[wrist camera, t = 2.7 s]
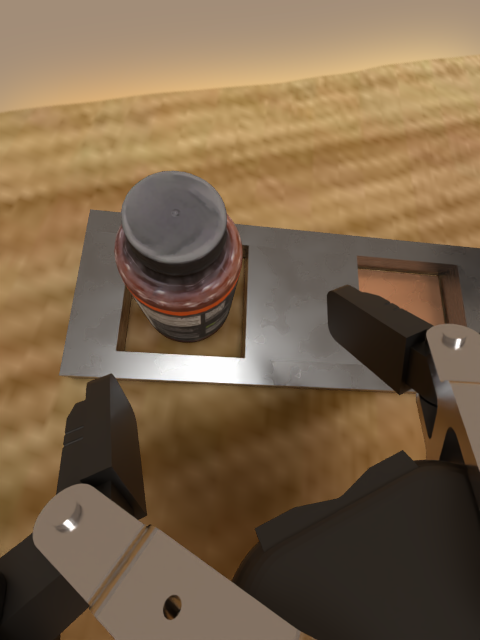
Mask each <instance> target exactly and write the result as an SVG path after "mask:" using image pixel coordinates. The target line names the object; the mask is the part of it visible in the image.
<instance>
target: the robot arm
mask: <svg viewBox="0 0 480 640" xmlns="http://www.w3.org/2000/svg"><path fill="white" fill-rule="evenodd" d="M327 315H328V328H329V332H330V334H331V336H332V337H333V339H334V340H335V341H336V342H337V343H339V344H340V345H341V346H342V347H343V348H344V349H346V350H347V351H348V352H349V353H350V354H352V355H353V356H354V357H355V358H356V359H357V360H359V361H360V362H361V363H362V364H363V365H365V366H366V367H367V368H368V369H369V370H370V371H372V372H373V373H374V374H375V375H376V376H378V377H379V378H380V379H381V380H382V381H383V382H385V383H386V384H387V385H388V386H389V387H390V388H392V389H393V390H394V391H395V392H396V393H398V394H399V395H401V394H403V393H405V392H407V391H409V390H411V389H413V390H414V391H416V392H417V394H416V403H417V408H418V413H419V418H420V422H421V427H422V432H423V437H424V442H425V447H426V460H416V461H413V460H412V459H411V458H410V457H409V456H408V455H407V454H406V453H405V452H404V451H403V450H402V451H400V452H399V453H397V454H395V455H393V456H391V457H389V458H387V459H385V460H383V461H381V462H380V463H378V464H376V465H374V466H372V467H370V468H369V469H368V470H367V471H366V472H365V473H364V474H363V475H362V476H361V477H360V478H359V479H358V480H357V481H356V482H355V483H354V484H353V485H352V486H351V487H350V488H349V489H348V490H347V491H346V492H345V494H344V495H342V496H341V497H339V498H337V499H333V500H328V501H323V502H319V503H314V504H309V505H304V506H300V507H295V508H293V509H291V510H289V511H287V512H285V513H283V514H281V515H279V516H277V517H276V518H274V519H272V520H270V521H268V522H266V523H264V524H262V525H260V526H259V527H257V528H255V531H256V533H257V536H258V539H259V542H258V543H257V544H256V545H255V546H254V547H253V548H252V549H251V550H250V552H249V553H248V554H247V556H246V557H245V558H244V560H243V561H242V563H241V564H240V566H239V568H238V569H237V571H236V573H235V575H234V577H233V579H232V582H231V581H230V580H228V579H227V578H226V577H224V576H223V575H221V574H220V573H219V572H217V571H216V570H215V569H213V568H212V567H210V566H209V565H208V564H206V563H205V562H204V561H202V560H201V559H199V558H198V557H197V556H195V555H194V554H192V553H191V552H190V551H188V550H187V549H186V548H184V547H183V546H181V545H180V544H179V543H177V542H176V541H175V540H173V539H172V538H170V537H169V536H168V535H166V534H165V533H164V532H162V531H161V530H159V529H158V528H156V527H154V526H152V525H149V526H146V525H144V524H142V523H141V522H140V521H138V520H139V519H141V518H143V517H145V516H147V511H146V502H145V493H144V484H143V476H142V467H141V458H140V449H139V440H138V432H137V423H136V418H135V415H134V412H133V409H132V407H131V405H130V403H129V401H128V399H127V398H126V396H125V394H124V392H123V390H122V389H121V387H120V385H119V383H118V382H117V380H116V378H115V376H114V375H113V374H112V373H111V374H108V375H105V376H103V377H100V378H97V379H95V380H92V381H90V382H88V383H87V388H86V400H84V401H82V402H79V403H76V404H75V406H74V407H73V409H72V411H71V412H70V414H69V416H68V418H67V421H66V428H65V434H66V435H65V436H64V443H63V445H64V447H63V450H62V457H61V464H60V471H59V478H58V486H57V493H56V496H54V497H53V498H52V499H51V500H50V501H49V502H48V503H47V504H46V506H45V507H44V508H43V510H42V511H41V513H40V514H39V516H38V518H37V520H36V522H35V525H34V529H33V533H32V534H31V535H29V536H28V537H27V538H26V539H25V540H23V541H22V542H21V543H19V544H18V545H17V546H15V547H14V548H13V549H11V550H10V551H9V552H7V553H6V554H5V555H4V556H2V557H1V558H0V640H60V633H62V632H63V631H64V630H65V629H66V628H67V627H68V626H69V625H70V624H71V623H72V622H73V621H74V620H75V619H76V618H78V617H79V616H80V615H81V614H82V613H83V612H84V611H85V610H86V609H87V608H88V607H89V606H90V607H89V609H90V611H91V612H92V614H93V615H94V616H95V617H96V618H97V620H98V621H99V622H100V623H101V624H102V625H103V626H104V627H105V629H106V630H107V631H108V632H109V633H110V634H111V635H112V636H113V637H114V639H115V640H480V333H477V332H476V331H474V330H472V329H470V328H468V327H465V326H462V325H457V324H440V325H436V326H433V325H432V324H430V323H428V322H426V321H424V320H422V319H421V318H419V317H417V316H415V315H413V314H412V313H410V312H408V311H406V310H404V309H402V308H401V309H400V308H399V306H397V305H395V304H393V303H390V301H388V300H386V299H384V298H382V297H381V296H379V295H375V294H371V293H367V292H361V291H359V290H358V289H356V288H354V287H352V286H351V285H344V286H342V287H339V288H337V289H334V290H331V291H329V292H328V293H327Z"/></svg>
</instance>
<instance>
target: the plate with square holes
mask: <svg viewBox="0 0 480 640" xmlns="http://www.w3.org/2000/svg"><path fill="white" fill-rule="evenodd" d="M121 224H122V222H121V213H120V212H110V211H100V210H90V214H89V219H88V224H87V230H86V235H85V240H84V246H83V251H82V256H81V262H80V267H79V272H78V277H77V283H76V288H75V293H74V299H73V304H72V309H71V315H70V320H69V325H68V331H67V336H66V341H65V347H64V352H63V357H62V363H61V368H60V373H59V375H61V376H65V377H70V378H84V379H97V378H100V377H103V376H105V375H108V374H111V373H112V374H113V375H114V376H115V378H116V380H128V381H150V382H172V383H194V384H216V385H238V386H260V387H282V388H304V389H326V390H348V391H370V392H392V393H396V392H395V391H394V390H393V389H392V388H390V387H389V386H388V385H387V384H386V383H385V382H383V381H382V380H381V379H380V378H379V377H378V376H376V375H375V374H374V373H373V372H372V371H370V370H369V369H368V368H367V367H366V366H365V365H363V364H362V363H361V362H360V361H359V360H357V359H356V358H355V357H354V356H353V355H352V354H350V353H349V352H348V351H347V350H346V349H344V348H343V347H342V346H341V345H340V344H339V343H337V342H336V341H335V340H334V339H333V337H332V336H331V334H330V332H329V328H328V315H327V293H328V292H329V291H331V290H334V289H337V288H339V287H342V286H344V285H351V286H352V287H354V288H356V289H358V290H359V291H361V292H367V293H371V294H375V295H379V296H381V297H382V298H384V299H386V300H388V301H390V303H393V304H395V305H397V306H399V308H400V309H401V308H402V309H404V310H406V311H408V312H410V313H412V314H413V315H415V316H417V317H419V318H421V319H422V320H424V321H426V322H428V323H430V324H432V325H433V326H436V325H440V324H457V325H462V326H465V327H468V328H470V329H472V330H474V331H476V332H477V333H480V248H470V247H460V246H450V245H440V244H430V243H420V242H410V241H400V240H390V239H380V238H370V237H360V236H350V235H340V234H330V233H320V232H310V231H300V230H290V229H280V228H270V227H260V226H250V225H240V224H235V226H236V227H237V229H238V232H239V235H240V238H241V242H242V252H243V253H242V258H245V274H244V302H243V329H242V357H241V358H231V357H212V356H194V355H176V354H158V353H140V352H124V348H125V341H126V334H127V326H128V319H129V312H130V304H131V297H132V294H131V293H130V291H129V290H128V288H127V286H126V285H125V283H124V281H123V280H122V278H121V276H120V274H119V271H118V268H117V264H116V260H115V253H114V249H115V239H116V235H117V232H118V230H119V227H120V226H121ZM358 268H362V269H373V270H384V271H396V272H407V273H418V274H430V275H438V276H428V275H417V274H405V273H394V272H383V271H371V270H360V269H358ZM438 278H439V280H438ZM439 285H440V288H439ZM440 292H441V295H440ZM441 299H442V302H441ZM442 307H443V309H442ZM443 314H444V316H443ZM444 321H445V323H444ZM405 393H414V394H417V392H416V391H414V390H413V389H411V390H409V391H407V392H405Z"/></svg>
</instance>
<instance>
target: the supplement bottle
mask: <svg viewBox="0 0 480 640" xmlns="http://www.w3.org/2000/svg"><path fill="white" fill-rule="evenodd" d="M121 222H122V224H121V226H120V227H119V230H118V232H117V235H116V239H115V249H114V253H115V260H116V264H117V268H118V271H119V274H120V276H121V278H122V280H123V281H124V283H125V285H126V286H127V288H128V290H129V291H130V293H131V294H132V296H133V297H134V299H135V300H136V302H137V303H138V305H139V306H140V307H141V309H142V311H143V312H144V314H145V315H146V317H147V318H148V319H149V321H150V322H151V324H152V325H153V326H154V327H155V328H156V329H157V330H158V331H159V332H160V333H161V334H163V335H164V336H166V337H168V338H170V339H172V340H175V341H180V342H195V341H200V340H202V339H205V338H207V337H209V336H211V335H212V334H214V333H215V332H216V331H217V330H218V329H219V328H220V327H221V326H222V324H223V323H224V321H225V320H226V318H227V315H228V313H229V310H230V307H231V303H232V300H233V296H234V292H235V289H236V285H237V282H238V278H239V274H240V270H241V266H242V253H243V252H242V242H241V238H240V235H239V232H238V229H237V227H236V226H235V224H234V222H233V221H232V219H231V218H230V217H229V215H228V214H227V213H226V209H225V205H224V202H223V200H222V198H221V197H220V195H219V193H218V192H217V191H216V190H215V188H214V187H212V186H211V185H210V184H209V183H208V182H206V181H205V180H203V179H201V178H200V177H197V176H195V175H192V174H189V173H186V172H179V171H163V172H159V173H155V174H152V175H150V176H147V177H146V178H144V179H142V180H141V181H139V182H138V183H137V184H136V185H135V186H134V187H132V189H131V190H130V191H129V192H128V194H127V196H126V198H125V200H124V202H123V205H122V210H121Z"/></svg>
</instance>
